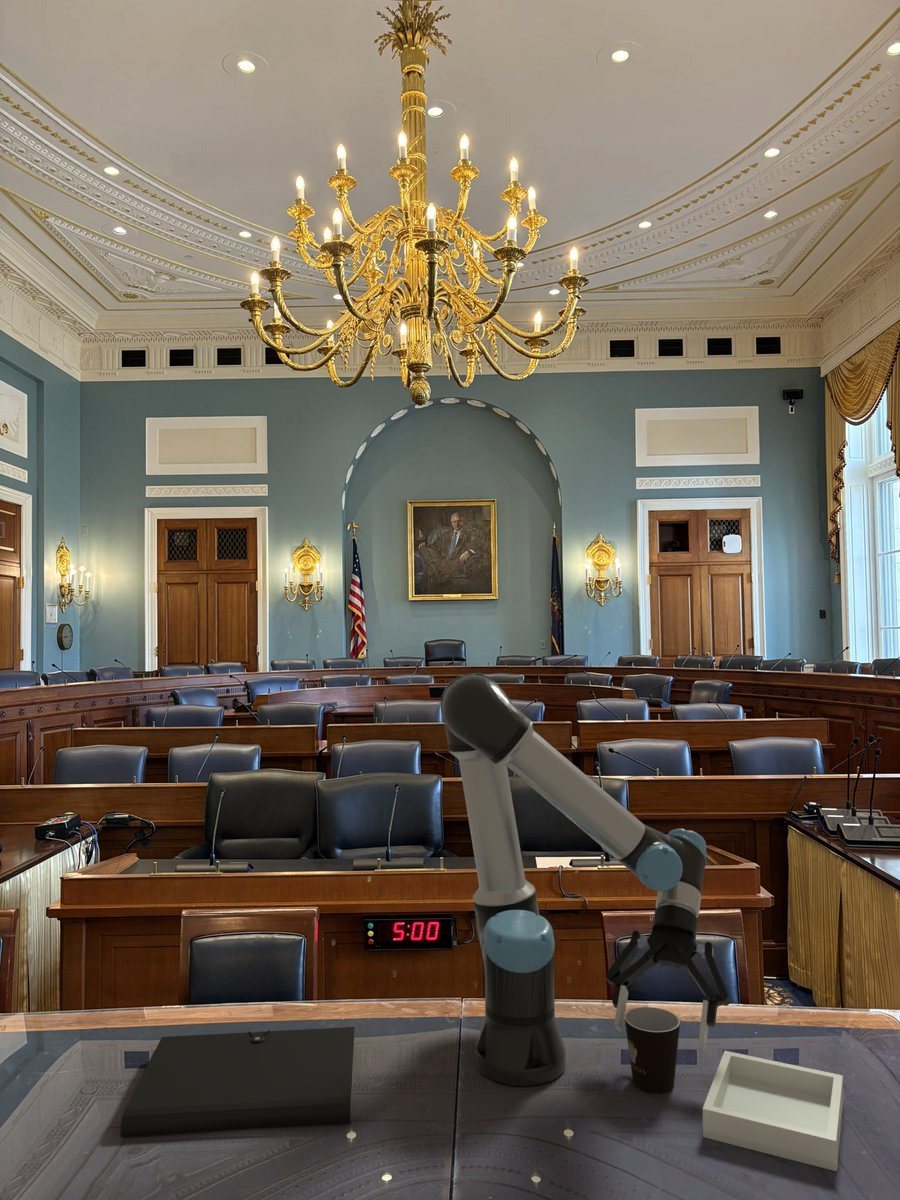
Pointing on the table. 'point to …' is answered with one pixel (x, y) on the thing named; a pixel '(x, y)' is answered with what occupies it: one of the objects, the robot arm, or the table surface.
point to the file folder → (244, 1082)
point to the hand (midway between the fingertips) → (659, 1036)
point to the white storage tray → (776, 1109)
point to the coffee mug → (652, 1048)
